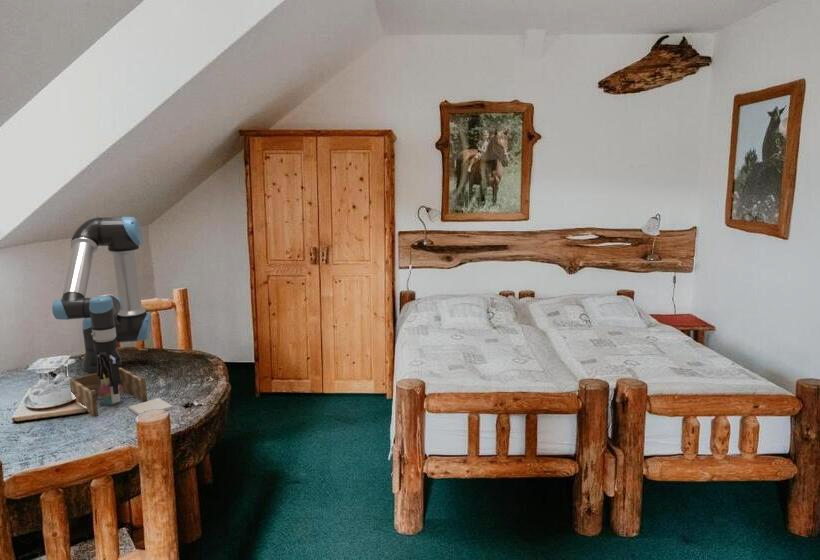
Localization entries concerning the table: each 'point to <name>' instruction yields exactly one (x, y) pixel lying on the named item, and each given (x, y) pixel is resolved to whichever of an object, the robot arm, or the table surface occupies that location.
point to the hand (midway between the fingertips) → (111, 398)
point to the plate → (150, 406)
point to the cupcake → (107, 392)
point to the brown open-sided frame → (89, 386)
